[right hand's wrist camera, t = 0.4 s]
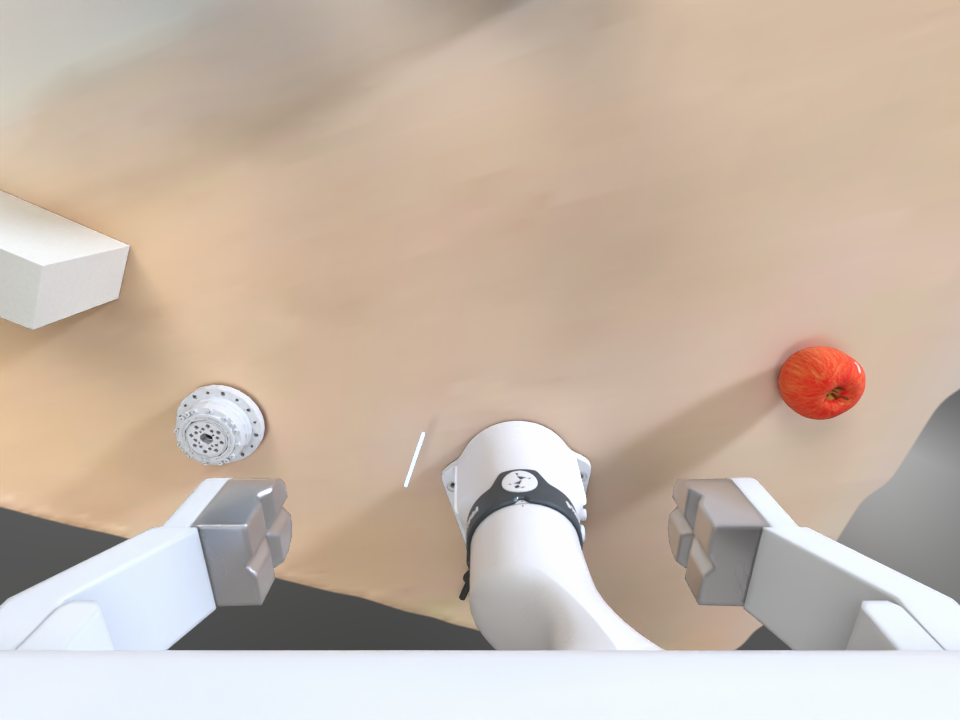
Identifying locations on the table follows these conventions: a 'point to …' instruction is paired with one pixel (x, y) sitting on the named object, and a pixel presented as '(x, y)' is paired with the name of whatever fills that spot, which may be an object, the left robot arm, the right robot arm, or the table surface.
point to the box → (53, 265)
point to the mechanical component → (218, 425)
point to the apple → (821, 382)
